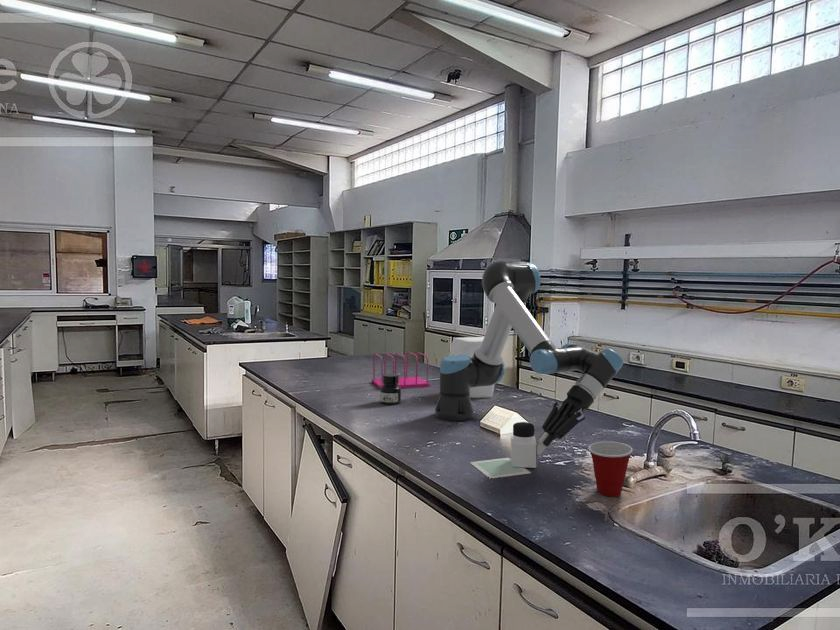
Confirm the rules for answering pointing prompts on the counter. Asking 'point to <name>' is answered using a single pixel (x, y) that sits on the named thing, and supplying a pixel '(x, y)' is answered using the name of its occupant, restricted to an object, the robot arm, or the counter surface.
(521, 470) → the pad
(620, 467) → the plastic cup
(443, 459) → the counter surface
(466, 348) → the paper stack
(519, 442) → the medicine bottle
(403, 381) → the file sorter
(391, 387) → the ink bottle
